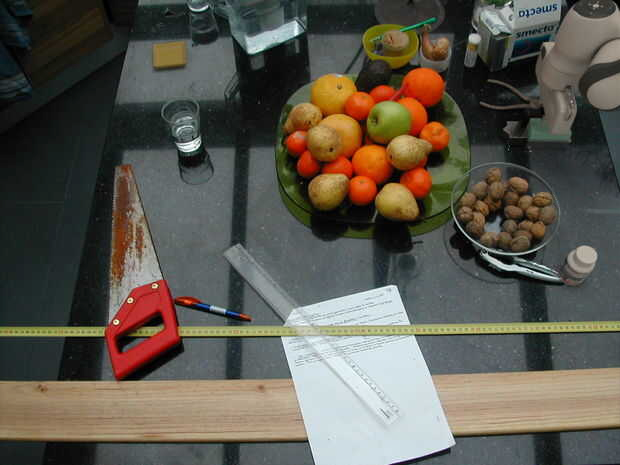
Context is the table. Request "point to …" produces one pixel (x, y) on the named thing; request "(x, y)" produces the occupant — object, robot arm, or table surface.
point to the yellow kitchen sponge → (169, 54)
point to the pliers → (532, 104)
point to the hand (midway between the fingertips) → (542, 116)
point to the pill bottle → (577, 265)
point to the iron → (533, 132)
